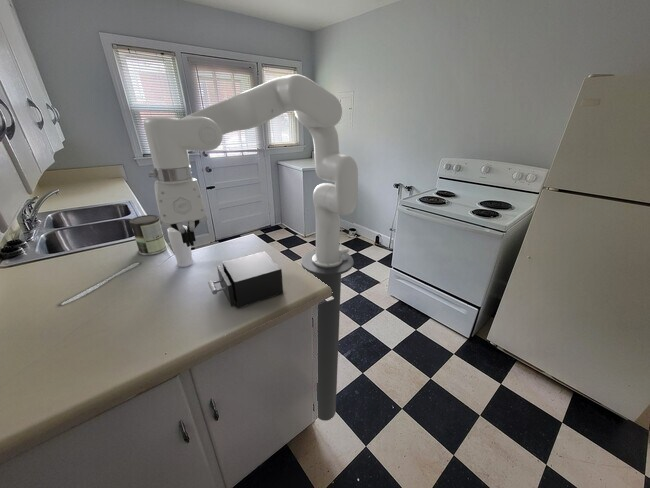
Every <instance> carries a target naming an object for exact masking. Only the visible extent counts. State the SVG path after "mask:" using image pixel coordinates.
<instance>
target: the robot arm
mask: <svg viewBox="0 0 650 488" xmlns="http://www.w3.org/2000/svg"><path fill="white" fill-rule="evenodd" d="M287 112H294V115H295V118H296V119H297V121H298V122H299V123H300V124H302V125H303V126H304V127H305V128H306V129H307V131H308V132H309V133H310V136H311V138H312V142H313V154H314V170H315V174H316V177H318V178H319V179H320V180H323V181H326V182H322V183H319V184H318V185H317V186H316V187H314V190H313V192H312V203H313V207H314V214H315V215H314V216H315V250H316V254H315V255H313V257H312V262H313V263H314V264H315V265H317V266H320V267H326V268H330V267H336V266H338V265H340V264H341V263H342V261H343V258H342V256H341V255H343V253H349V252H350V250H349V247H346V248H343V247H342V246H340V241H341V240H340V239H341V238H340V237H341V216H348V215H351V214H352V213H354V211H355V210H356V207H357V205H358V195H359V194H358V191H359V190H358V189H359V188H358V187H359V170H358V165H357V162H356V161H355V159H354V158H353V157H352V156H350V155H348V154H344V153H340V145H339V144H340V143H339V135H338V134H339V133H338V131H337V128H336V127H335V126H337V125H338V124H339V123H340V121H341V120H342V116H343V107H342V104H341V102H340V100H339V98H337V97H336V96H335V95H334V94H333V93H331V92H330V91H328V90H327V89H325V88H324V87H323V86H321V85H319V84H318V83H317V82H315V81H313V80H312V79H310V78H309V77H307V76H304V75H303V74H299V73H295V74H290V75H283V76H279V77H274V78H272V79H269V80H268V81H266V82H264V83H261V84H259V85H256V86H254V87H252V88H250V89H247V90H245V91H243V92H240V93H237V94H235V95H233V96H231V97H228V98H226V99H224V100H221V101H219V102H217V103H214V104H212V105H209V106H206V107H203V108H201V109H200V110H197V111H195V112H192V113H190V114H187V115H185V116H183V117H182V118H176V117H172V116H171V117H169V116H151V117H146V118H144V120H143V129H144V132H145V137H146V141H147V145H148V149H149V152H150V156H151V160H152V164H153V169H151V170H148V171H147V173H148V178H155V179H156V180H155V181H154V185H153V186H154V194H155V201H156V206H157V210H158V214H159V215H158V216H159V219H160V224H161V228H162V229H163V228H164V229H165V228H167V229H168V228H174V229H175V230H177V231H179V232H180V233H181V236H182V240H183V243H186V244H187V247H190V245H191V247H194V246H195V244H194V242H196V240H197V239H196V236H195V230H196V228H197V227H198V225H199V224H202V223H203V222H206V221H207V220H208V216H207V212H206V206H205V202H204V199H203V195H202V191H201V187H200V185H199V182H198V179H197V178H195V177H193V171H192V168H191V162H190V158H189V153H188V151H199V152H210V151H214V150H215V149H217V148H219V147H220V145H221V144H222V142H223V136H224V135H226V134H229V133H233V132H238V131H245V130H246V131H247V130H251V129H254V128H257V127H260V126H261V125H263V124H265V123H267V122H269V121H271V120H274V119H275V118H277V117H279V116H281V115H284V114H285V113H287ZM340 215H341V216H340ZM183 223H187V231H186V229H185V228H184V227H183V225H184V224H183Z"/></svg>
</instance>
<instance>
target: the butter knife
mask: <svg viewBox="0 0 650 488" xmlns="http://www.w3.org/2000/svg"><path fill="white" fill-rule="evenodd" d="M139 265H140V262H135V263H133V264H131V265H128V266H127V267H125V268H123V269H122V270H120V271H118V272H117V273H115V274H113V275H111V276H110V277H108V278H107V279H104V280H103V281H101V282H99V283H97V284H95V285H93V286H92V287H89V288H88V289H86V290H84V291H82V292H81V293H78V294H77V295H75V296H73V297H71V298H69V299H67V300H65V301H63V302H62V303H60V305H62V306H64V305H66V304H69V303H71V302H74V301H75V300H78V299H80V298H82V297H83V296H86V295H87V294H89V293H91V292H93V291H94V290H96V289H98V288H100V287H101V286H103V285H104V284H106V283H107V282H110V281H111V280H112V279H114V278H116V277H118V276H121V275H122V274H124V273H126V272H128V271H130V270H132V269H134V268H135V267H137V266H139Z"/></svg>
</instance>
